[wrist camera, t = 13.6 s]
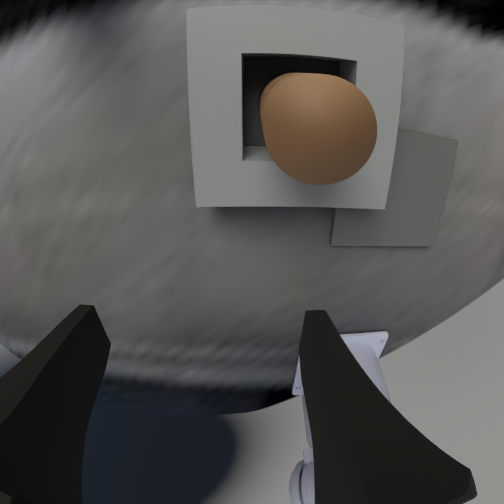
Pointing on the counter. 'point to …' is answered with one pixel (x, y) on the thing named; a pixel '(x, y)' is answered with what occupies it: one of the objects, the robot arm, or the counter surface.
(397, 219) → the pad
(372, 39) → the socket
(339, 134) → the peg
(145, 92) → the counter surface
